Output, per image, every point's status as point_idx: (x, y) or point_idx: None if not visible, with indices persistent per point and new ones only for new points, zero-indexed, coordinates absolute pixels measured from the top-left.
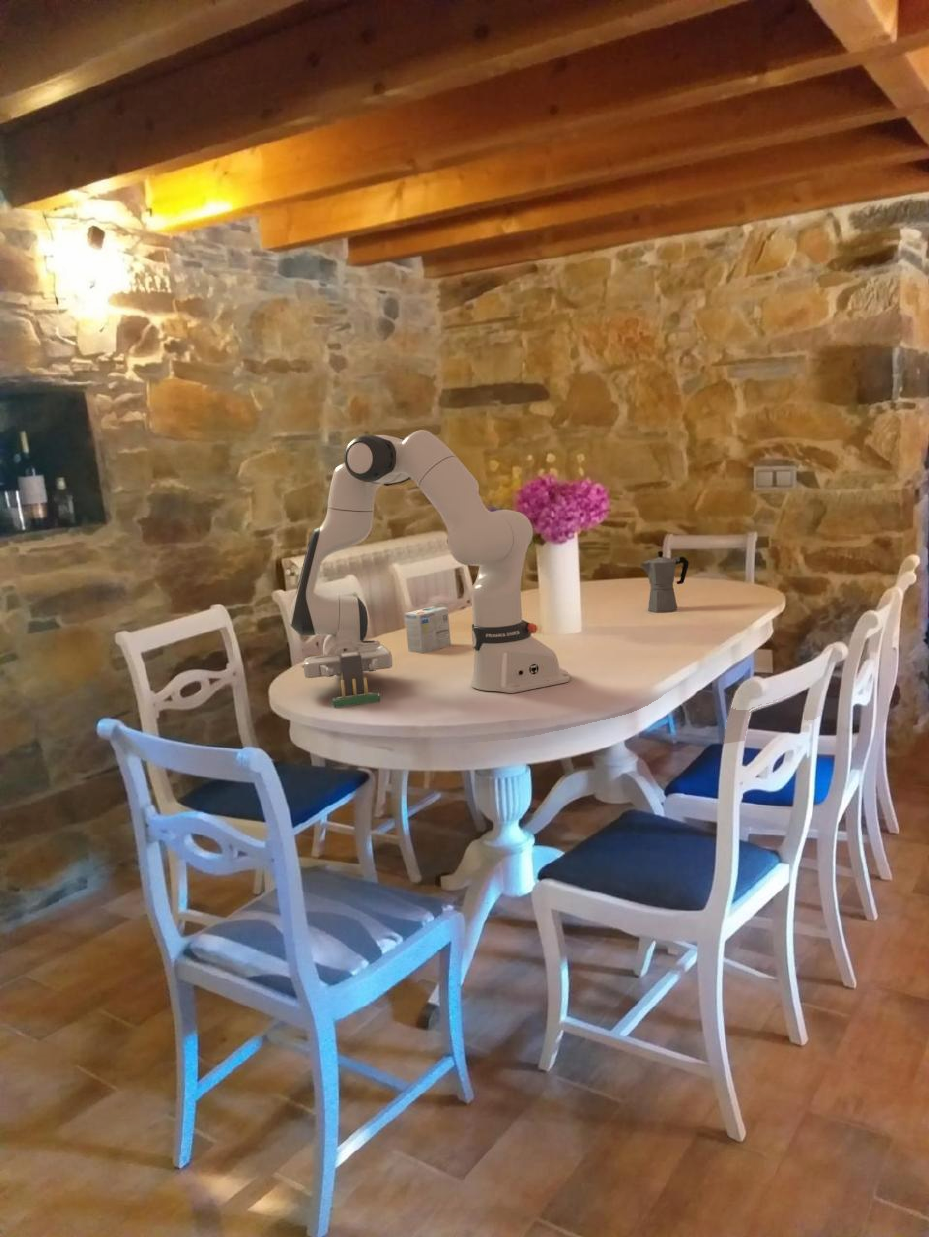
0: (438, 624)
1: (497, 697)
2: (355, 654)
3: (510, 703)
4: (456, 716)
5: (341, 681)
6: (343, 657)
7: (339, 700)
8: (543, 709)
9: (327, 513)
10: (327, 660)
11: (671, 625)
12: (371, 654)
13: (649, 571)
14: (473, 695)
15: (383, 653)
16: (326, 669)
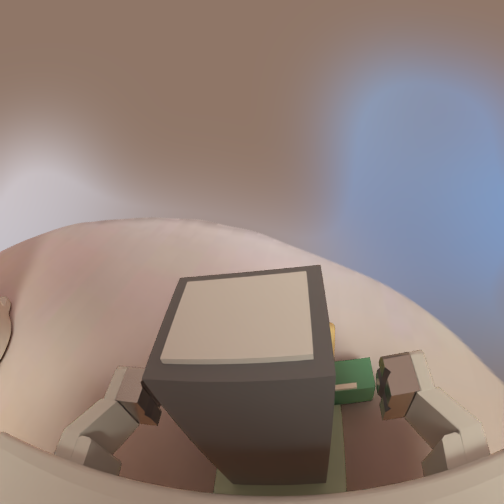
0: None
1: (31, 296)
2: (205, 285)
3: (48, 268)
4: (132, 242)
5: (331, 324)
6: (299, 270)
7: (345, 360)
8: (53, 243)
9: None
10: (444, 486)
11: None
12: (52, 478)
13: None
14: (35, 321)
15: (6, 446)
16: (422, 352)
